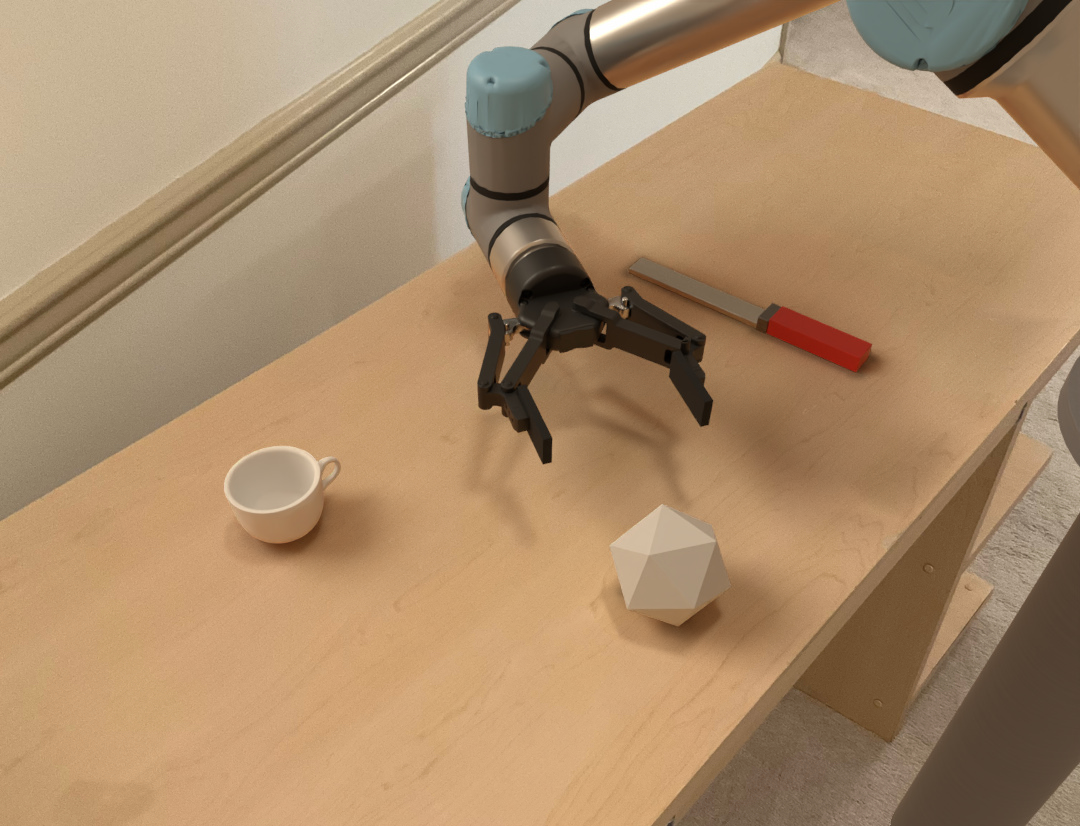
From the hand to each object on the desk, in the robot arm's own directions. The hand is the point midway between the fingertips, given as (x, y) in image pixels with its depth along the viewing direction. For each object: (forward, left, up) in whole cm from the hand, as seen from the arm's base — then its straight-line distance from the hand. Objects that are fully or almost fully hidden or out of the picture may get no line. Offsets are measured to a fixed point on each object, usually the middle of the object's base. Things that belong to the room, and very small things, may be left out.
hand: (628, 432), depth 80 cm
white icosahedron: (-8, +5, -10) cm, 14 cm away
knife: (+6, -31, -10) cm, 33 cm away
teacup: (+22, +17, -10) cm, 30 cm away
